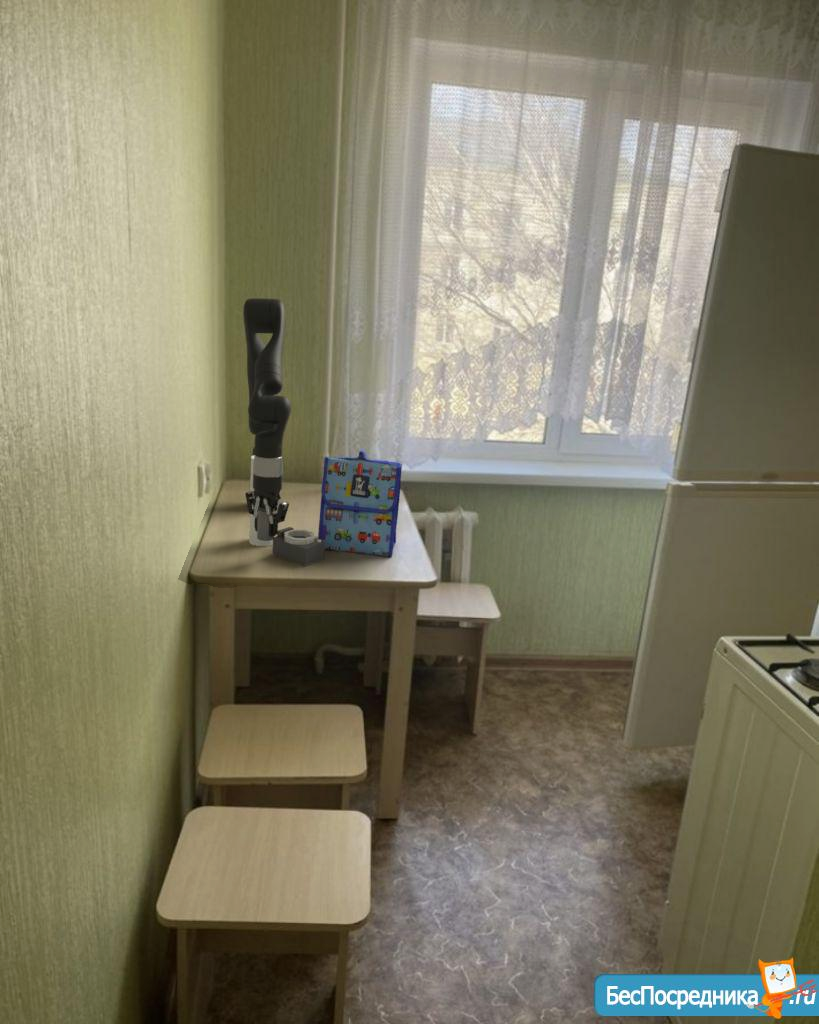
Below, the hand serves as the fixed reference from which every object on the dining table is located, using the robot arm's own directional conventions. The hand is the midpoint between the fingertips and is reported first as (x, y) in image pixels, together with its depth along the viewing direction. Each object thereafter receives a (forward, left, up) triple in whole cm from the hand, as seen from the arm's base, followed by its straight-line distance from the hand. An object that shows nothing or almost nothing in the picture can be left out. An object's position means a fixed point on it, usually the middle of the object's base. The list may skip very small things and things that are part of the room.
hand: (265, 533), depth 203 cm
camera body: (+4, +9, -8) cm, 12 cm away
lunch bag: (+10, +28, -8) cm, 31 cm away
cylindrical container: (-11, +10, -8) cm, 17 cm away
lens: (0, 0, -1) cm, 1 cm away
